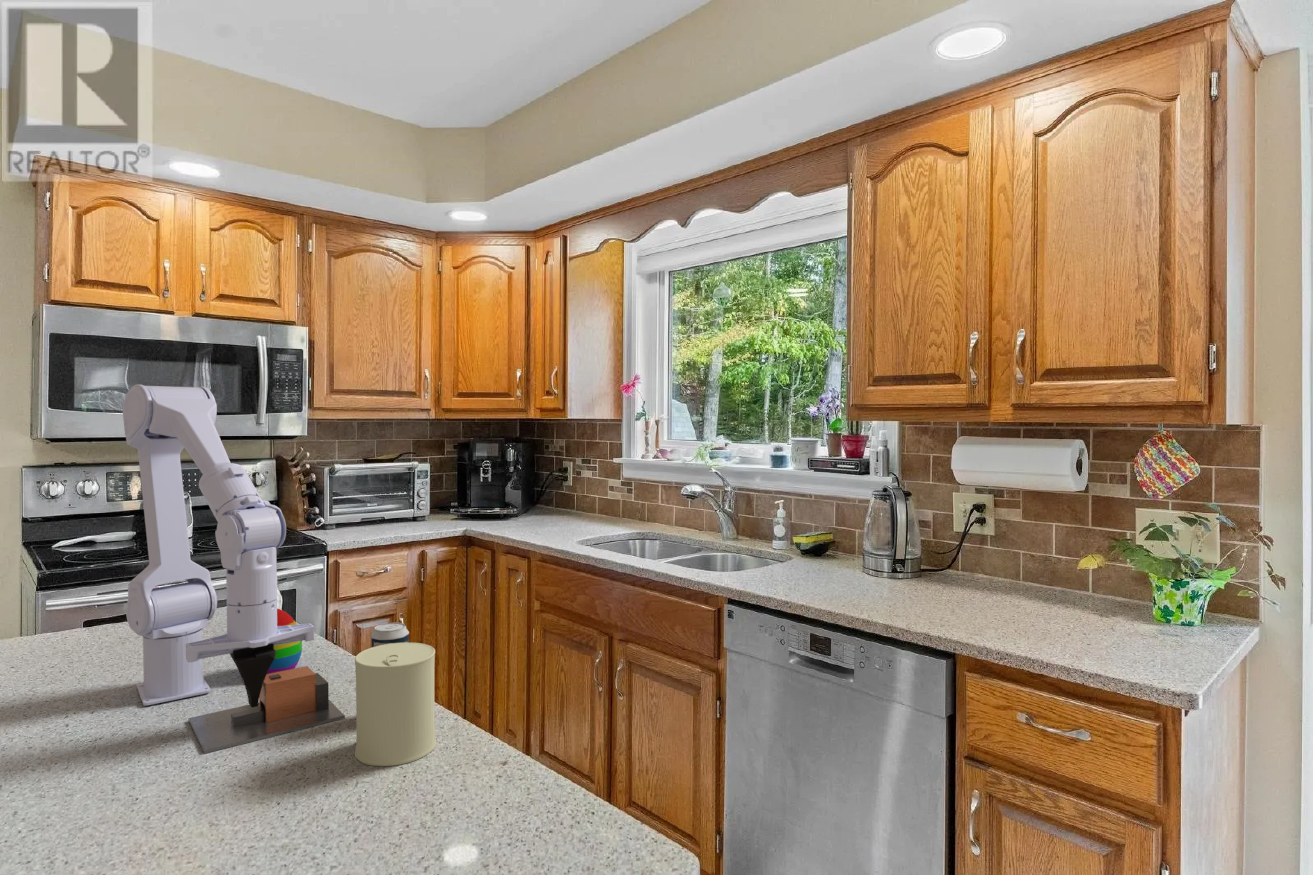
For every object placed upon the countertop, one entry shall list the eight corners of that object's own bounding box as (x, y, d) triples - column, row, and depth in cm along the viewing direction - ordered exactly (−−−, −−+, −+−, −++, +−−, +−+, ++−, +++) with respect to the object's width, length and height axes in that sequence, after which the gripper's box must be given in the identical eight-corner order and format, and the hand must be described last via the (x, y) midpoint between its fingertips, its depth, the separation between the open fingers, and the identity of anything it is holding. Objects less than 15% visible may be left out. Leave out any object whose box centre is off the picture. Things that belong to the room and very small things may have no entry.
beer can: (363, 718, 98) (362, 628, 97) (391, 706, 102) (391, 619, 102) (389, 726, 95) (388, 633, 95) (417, 712, 100) (416, 624, 99)
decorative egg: (314, 666, 118) (313, 604, 118) (275, 684, 110) (275, 617, 110) (270, 662, 120) (270, 600, 120) (230, 679, 112) (229, 613, 112)
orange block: (259, 713, 98) (258, 674, 98) (307, 702, 102) (307, 665, 102) (266, 722, 95) (266, 683, 95) (315, 710, 99) (315, 672, 99)
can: (350, 771, 83) (349, 665, 83) (359, 736, 92) (359, 641, 92) (435, 761, 86) (434, 658, 86) (437, 728, 95) (436, 635, 94)
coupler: (188, 721, 97) (187, 690, 97) (318, 692, 107) (317, 664, 107) (204, 753, 88) (203, 720, 87) (344, 718, 98) (344, 688, 98)
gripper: (191, 616, 88) (193, 729, 88) (320, 597, 97) (321, 700, 98) (182, 605, 93) (184, 711, 94) (305, 588, 103) (306, 685, 103)
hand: (253, 704), depth 96 cm, fingers closed
